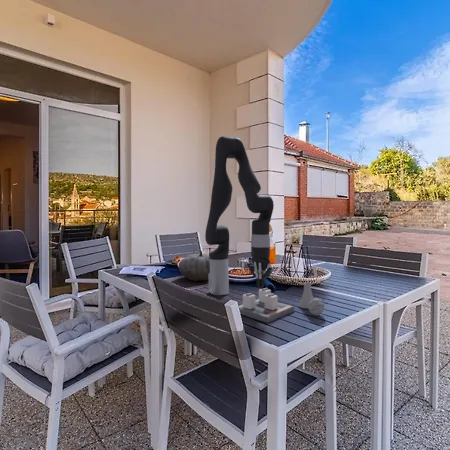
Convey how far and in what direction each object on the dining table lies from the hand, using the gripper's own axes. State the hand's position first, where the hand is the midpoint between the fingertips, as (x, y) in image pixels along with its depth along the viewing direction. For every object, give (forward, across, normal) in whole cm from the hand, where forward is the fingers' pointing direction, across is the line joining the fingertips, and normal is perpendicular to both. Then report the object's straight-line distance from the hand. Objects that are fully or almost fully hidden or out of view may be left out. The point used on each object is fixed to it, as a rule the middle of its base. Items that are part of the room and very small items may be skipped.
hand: (260, 287), depth 131 cm
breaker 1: (+7, -1, -5) cm, 9 cm away
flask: (+10, +12, +17) cm, 23 cm away
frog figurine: (+9, +20, +10) cm, 24 cm away
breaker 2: (+7, -1, +5) cm, 9 cm away
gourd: (+12, -62, +20) cm, 66 cm away
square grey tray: (+10, +2, 0) cm, 10 cm away
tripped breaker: (+7, +6, 0) cm, 9 cm away
